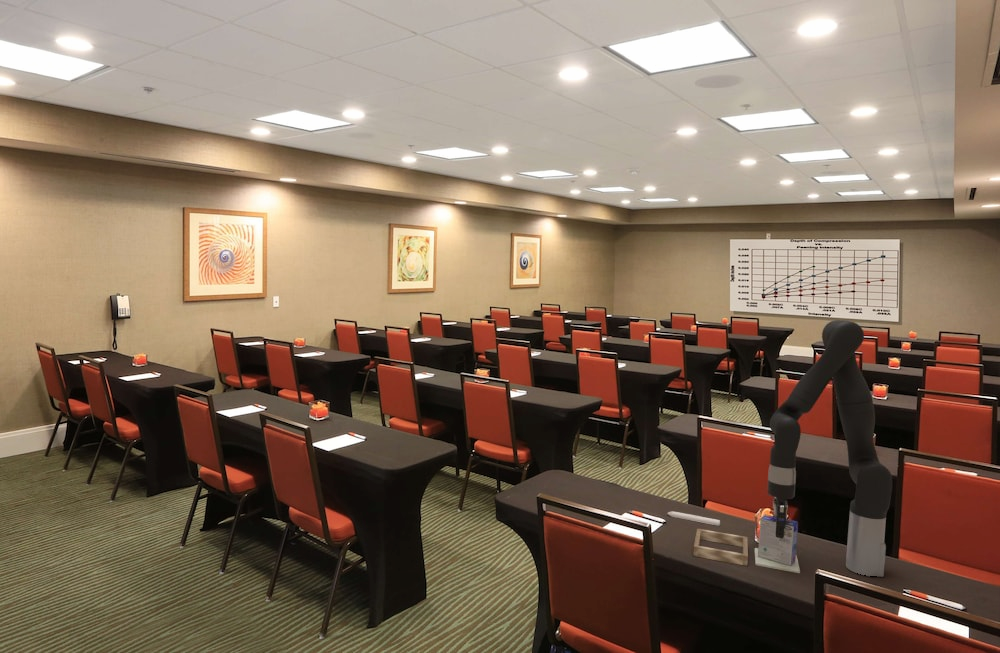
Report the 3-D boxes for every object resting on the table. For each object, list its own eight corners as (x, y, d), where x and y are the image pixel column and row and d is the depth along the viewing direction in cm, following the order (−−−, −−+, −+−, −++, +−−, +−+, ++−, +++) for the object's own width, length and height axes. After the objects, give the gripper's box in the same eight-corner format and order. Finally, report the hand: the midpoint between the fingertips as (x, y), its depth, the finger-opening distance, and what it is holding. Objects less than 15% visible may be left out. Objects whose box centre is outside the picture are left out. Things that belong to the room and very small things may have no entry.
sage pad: (796, 556, 189) (796, 555, 189) (799, 573, 178) (800, 571, 178) (754, 549, 193) (754, 547, 193) (755, 565, 182) (755, 563, 182)
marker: (666, 516, 219) (666, 510, 219) (667, 515, 221) (668, 508, 221) (719, 527, 211) (719, 520, 211) (719, 525, 213) (720, 518, 213)
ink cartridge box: (796, 560, 185) (799, 514, 184) (791, 566, 180) (795, 519, 179) (762, 551, 191) (765, 505, 190) (757, 556, 187) (760, 510, 186)
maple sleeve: (746, 546, 196) (747, 537, 195) (747, 565, 181) (747, 556, 181) (696, 537, 201) (697, 528, 201) (693, 555, 187) (693, 546, 187)
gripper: (797, 488, 176) (794, 543, 177) (793, 475, 189) (790, 526, 190) (769, 485, 178) (766, 539, 180) (767, 471, 192) (764, 522, 193)
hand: (778, 532), depth 185 cm, fingers open, 8 cm apart
